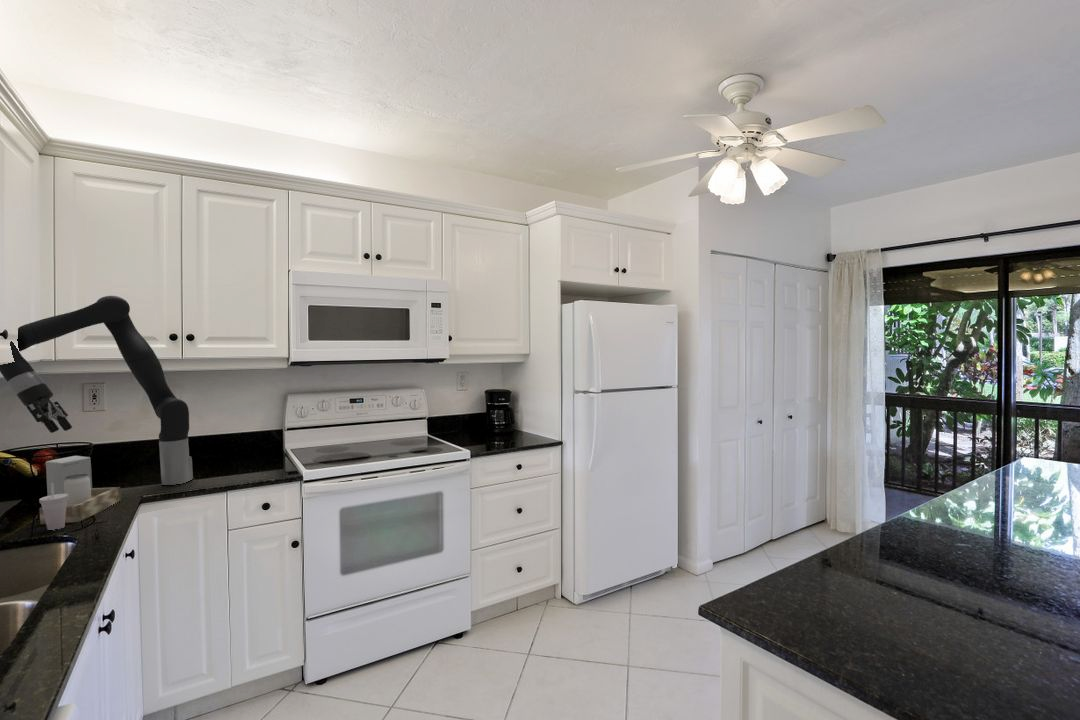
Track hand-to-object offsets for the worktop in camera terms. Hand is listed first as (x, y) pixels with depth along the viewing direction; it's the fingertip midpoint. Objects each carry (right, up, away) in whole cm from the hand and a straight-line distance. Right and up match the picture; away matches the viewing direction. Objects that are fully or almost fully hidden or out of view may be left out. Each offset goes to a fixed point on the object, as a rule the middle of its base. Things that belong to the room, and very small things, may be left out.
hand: (62, 430), depth 169 cm
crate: (+6, -27, 0) cm, 28 cm away
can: (+5, -27, 0) cm, 28 cm away
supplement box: (-8, -27, +12) cm, 31 cm away
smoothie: (+11, -28, -14) cm, 33 cm away
